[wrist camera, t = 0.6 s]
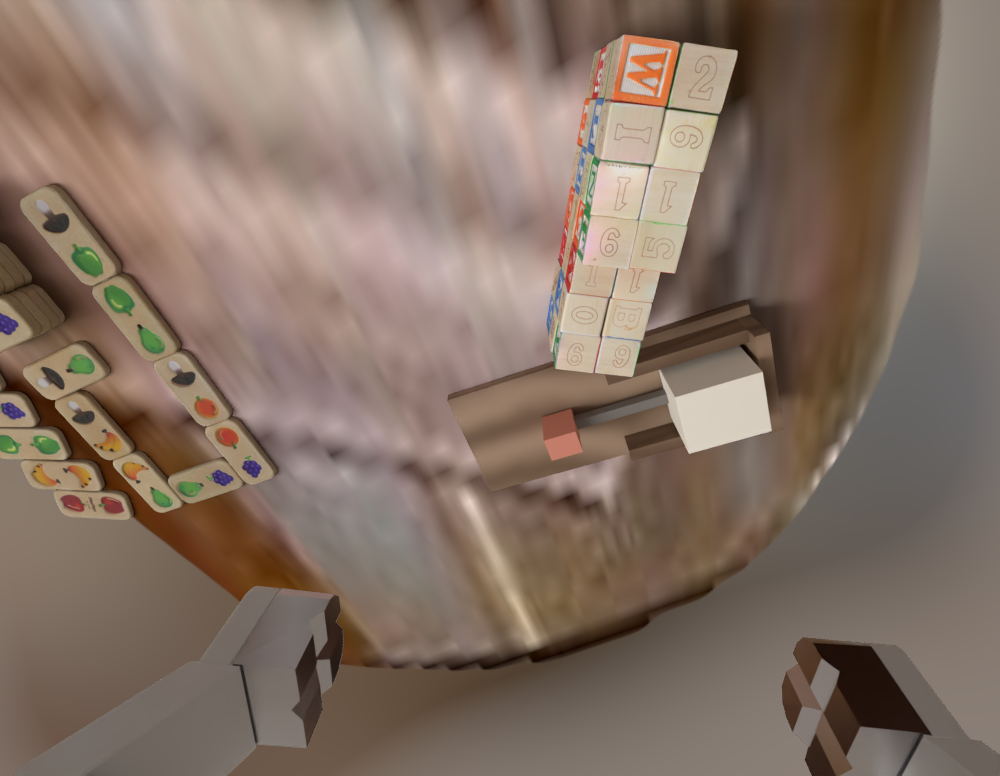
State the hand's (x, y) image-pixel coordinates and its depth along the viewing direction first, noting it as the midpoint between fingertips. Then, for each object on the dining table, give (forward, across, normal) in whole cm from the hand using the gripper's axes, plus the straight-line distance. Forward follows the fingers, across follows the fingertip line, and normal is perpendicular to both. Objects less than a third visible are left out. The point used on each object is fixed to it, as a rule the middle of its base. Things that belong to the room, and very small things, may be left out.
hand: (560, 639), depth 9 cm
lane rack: (+41, -7, +13) cm, 44 cm away
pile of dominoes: (+39, +46, +14) cm, 62 cm away
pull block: (+40, -10, +12) cm, 43 cm away
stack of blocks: (+39, -4, -5) cm, 40 cm away
